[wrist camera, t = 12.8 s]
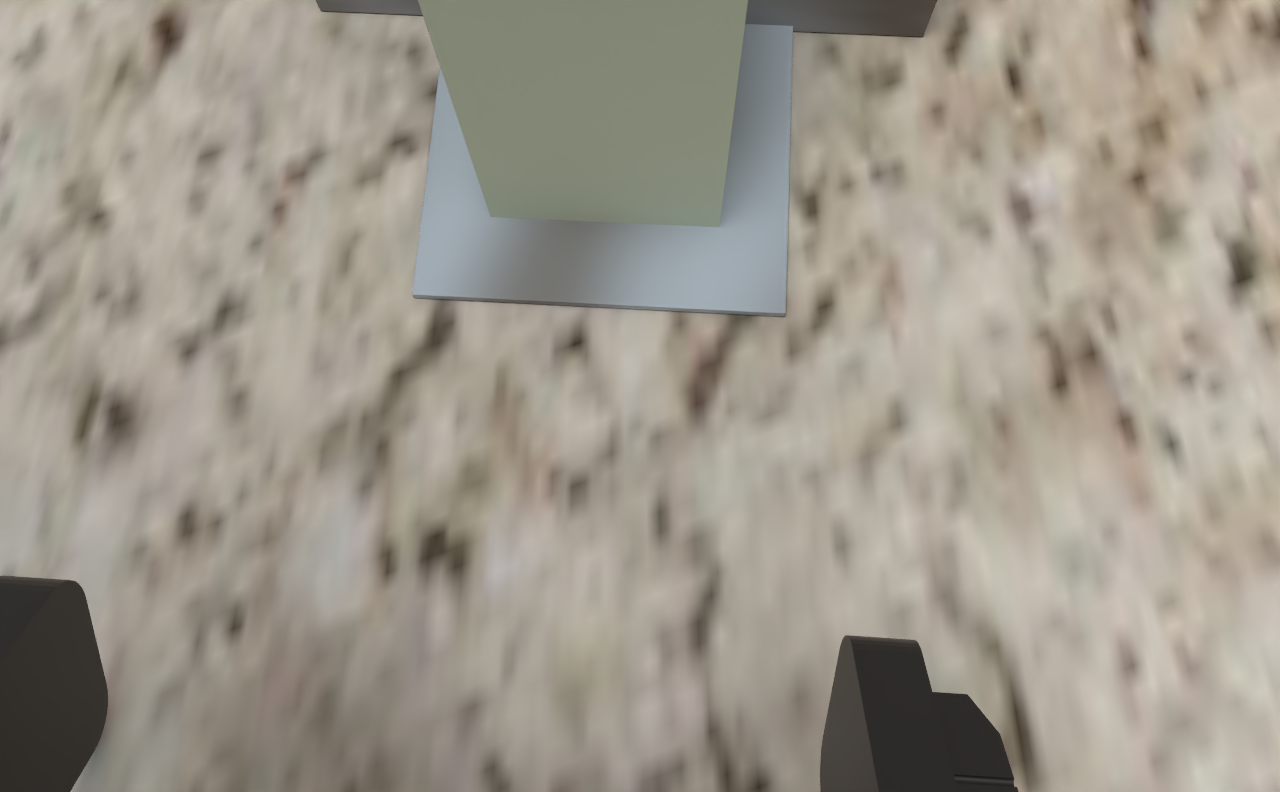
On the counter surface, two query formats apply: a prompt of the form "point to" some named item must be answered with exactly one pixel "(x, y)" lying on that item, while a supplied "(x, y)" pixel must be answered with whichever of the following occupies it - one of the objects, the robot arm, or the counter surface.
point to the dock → (642, 253)
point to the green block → (594, 104)
